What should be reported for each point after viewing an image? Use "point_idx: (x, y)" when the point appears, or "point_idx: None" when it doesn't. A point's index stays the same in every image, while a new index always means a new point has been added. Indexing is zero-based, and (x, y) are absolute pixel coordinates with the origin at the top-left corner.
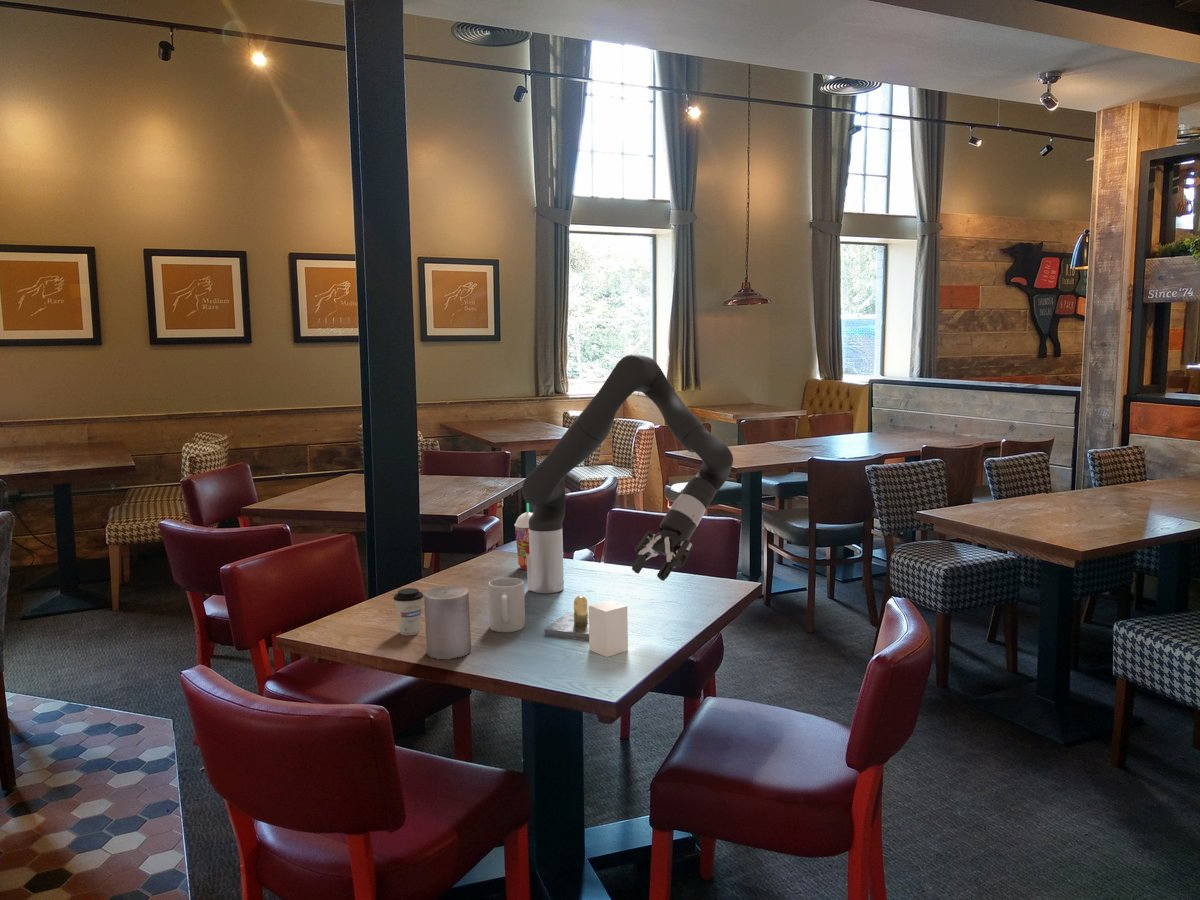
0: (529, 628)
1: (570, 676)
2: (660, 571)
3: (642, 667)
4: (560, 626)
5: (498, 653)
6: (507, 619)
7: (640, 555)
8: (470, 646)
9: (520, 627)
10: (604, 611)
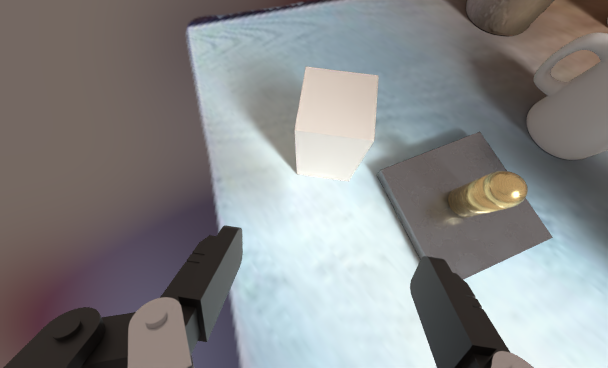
0: (526, 147)
1: (292, 48)
2: (221, 240)
3: (226, 131)
4: (474, 161)
5: (444, 45)
6: (538, 75)
7: (493, 356)
8: (484, 19)
9: (532, 128)
10: (311, 68)
